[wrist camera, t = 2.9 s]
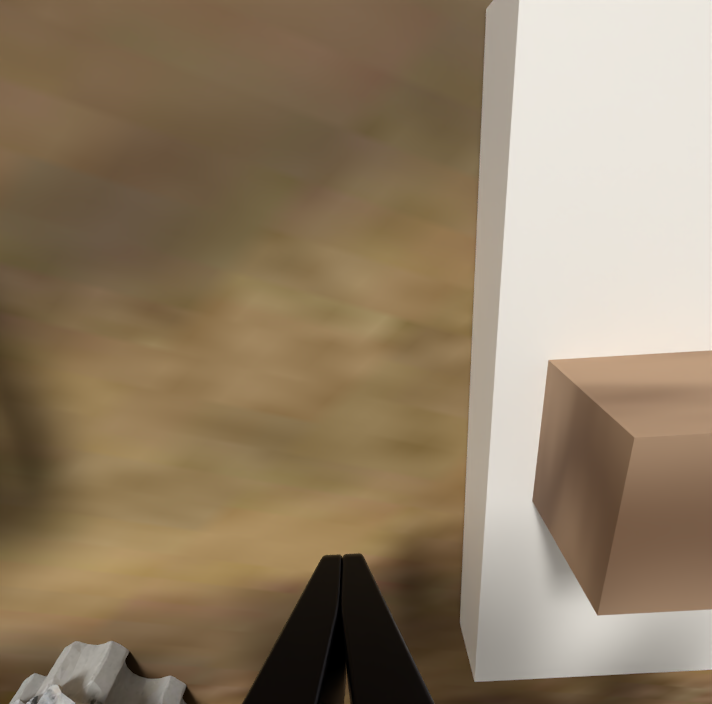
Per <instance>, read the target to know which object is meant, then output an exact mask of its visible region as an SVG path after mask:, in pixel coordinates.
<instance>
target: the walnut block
mask: <svg viewBox="0 0 712 704" xmlns="http://www.w3.org/2000/svg"><path fill="white" fill-rule="evenodd" d="M532 502H533V503H534V505H535V507H536V509H537V510H538V512H539V514H540V516H541V517H542V519H543V521H544V523H545V524H546V526H547V528H548V530H549V531H550V533H551V535H552V537H553V538H554V540H555V542H556V544H557V546H558V547H559V549H560V551H561V553H562V554H563V556H564V558H565V560H566V561H567V563H568V565H569V567H570V568H571V570H572V572H573V574H574V575H575V577H576V579H577V581H578V582H579V584H580V586H581V588H582V589H583V591H584V593H585V595H586V596H587V598H588V600H589V602H590V603H591V605H592V607H593V609H594V610H595V612H596V614H597V616H598V615H617V614H636V613H655V612H673V611H692V610H711V609H712V350H709V351H692V352H675V353H658V354H641V355H624V356H607V357H590V358H573V359H556V360H548V367H547V376H546V385H545V394H544V402H543V411H542V420H541V429H540V437H539V446H538V455H537V463H536V472H535V481H534V490H533V498H532Z"/></svg>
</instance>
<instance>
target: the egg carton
mask: <svg viewBox="0 0 712 704" xmlns="http://www.w3.org/2000/svg"><path fill="white" fill-rule="evenodd" d="M128 653H129V650H128V649H126V648H125V647H123V646H122V645H120V644H118V643H116V642H114V641H109V642H107V643H105V644H101V645H90V644H85V643H82V642H79V641H76V642H73V643H72V644H70V645H69V646H67V647H65V648H64V650H63V651H62V653H61V655H60V656H59V658H58V659H57V661H56V662H55V664H54V666H53V667H52V669H51V671H50V672H49V674H48V676H47V677H46V676H42V675H39V674H36V673H34V674H33V675H31V676H30V677H28V678H27V679H26V680H25V681H24V682H23V683H22V685H21V686H20V688H19V690H18V691H17V693H16V694H15V696H14V697H13V699H12V700H11V702H10V704H186V703H185V702H184V700H183V698H182V697H183V694H184V691H185V688H186V684H184V683H183V682H181V681H180V680H178V679H176V678H175V677H173V676H167V677H163V678H160V679H147V678H144V677H140V676H138V675H136V674H134V673H133V672H131V671H130V670H129V668H128V667H127V665H126V663H125V659H126V657H127V655H128Z"/></svg>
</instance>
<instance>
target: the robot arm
mask: <svg viewBox="0 0 712 704" xmlns="http://www.w3.org/2000/svg"><path fill="white" fill-rule="evenodd" d="M346 667H347V677H348V687H349V696H350V704H434V702H433V699H432V697H431V695H430V693H429V691H428V689H427V687H426V685H425V683H424V681H423V679H422V677H421V675H420V673H419V670H418V668H417V666H416V664H415V662H414V660H413V658H412V656H411V654H410V652H409V650H408V648H407V646H406V644H405V642H404V639H403V637H402V635H401V633H400V631H399V629H398V627H397V625H396V623H395V621H394V619H393V617H392V615H391V613H390V610H389V608H388V606H387V604H386V602H385V600H384V598H383V596H382V594H381V592H380V590H379V588H378V586H377V584H376V581H375V579H374V577H373V575H372V573H371V571H370V569H369V567H368V565H367V563H366V561H365V559H364V557H363V555H362V554H345V555H344V556H343V558H342V556H341V555H325V556H323V557H322V559H321V560H320V562H319V564H318V566H317V567H316V569H315V571H314V573H313V575H312V577H311V578H310V580H309V582H308V584H307V586H306V588H305V589H304V591H303V593H302V595H301V597H300V599H299V600H298V602H297V604H296V606H295V608H294V610H293V611H292V613H291V615H290V617H289V619H288V621H287V622H286V624H285V626H284V628H283V630H282V632H281V633H280V635H279V637H278V639H277V641H276V643H275V644H274V646H273V648H272V650H271V652H270V654H269V655H268V657H267V659H266V661H265V663H264V665H263V666H262V668H261V670H260V672H259V674H258V676H257V677H256V679H255V681H254V683H253V685H252V687H251V688H250V690H249V692H248V694H247V696H246V698H245V699H244V701H243V703H242V704H344V696H345V684H346Z"/></svg>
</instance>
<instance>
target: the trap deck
mask: <svg viewBox="0 0 712 704" xmlns="http://www.w3.org/2000/svg"><path fill="white" fill-rule="evenodd" d="M709 350H712V0H493V1H492V3H491V4H490V5H489V7H488V8H487V9H486V28H485V51H484V74H483V98H482V121H481V144H480V167H479V190H478V213H477V236H476V260H475V283H474V306H473V329H472V352H471V375H470V399H469V422H468V445H467V468H466V491H465V514H464V537H463V561H462V584H461V607H460V626H461V630H462V634H463V638H464V642H465V646H466V650H467V654H468V658H469V662H470V666H471V670H472V674H473V678H474V682H484V681H503V680H522V679H541V678H560V677H579V676H599V675H618V674H637V673H656V672H675V671H694V670H712V609H711V610H692V611H673V612H655V613H636V614H617V615H598V616H597V614H596V612H595V610H594V609H593V607H592V605H591V603H590V602H589V600H588V598H587V596H586V595H585V593H584V591H583V589H582V588H581V586H580V584H579V582H578V581H577V579H576V577H575V575H574V574H573V572H572V570H571V568H570V567H569V565H568V563H567V561H566V560H565V558H564V556H563V554H562V553H561V551H560V549H559V547H558V546H557V544H556V542H555V540H554V538H553V537H552V535H551V533H550V531H549V530H548V528H547V526H546V524H545V523H544V521H543V519H542V517H541V516H540V514H539V512H538V510H537V509H536V507H535V505H534V503H533V502H532V498H533V490H534V481H535V472H536V463H537V455H538V446H539V437H540V429H541V420H542V411H543V402H544V394H545V385H546V376H547V367H548V360H556V359H573V358H590V357H607V356H624V355H641V354H658V353H675V352H692V351H709Z"/></svg>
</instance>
